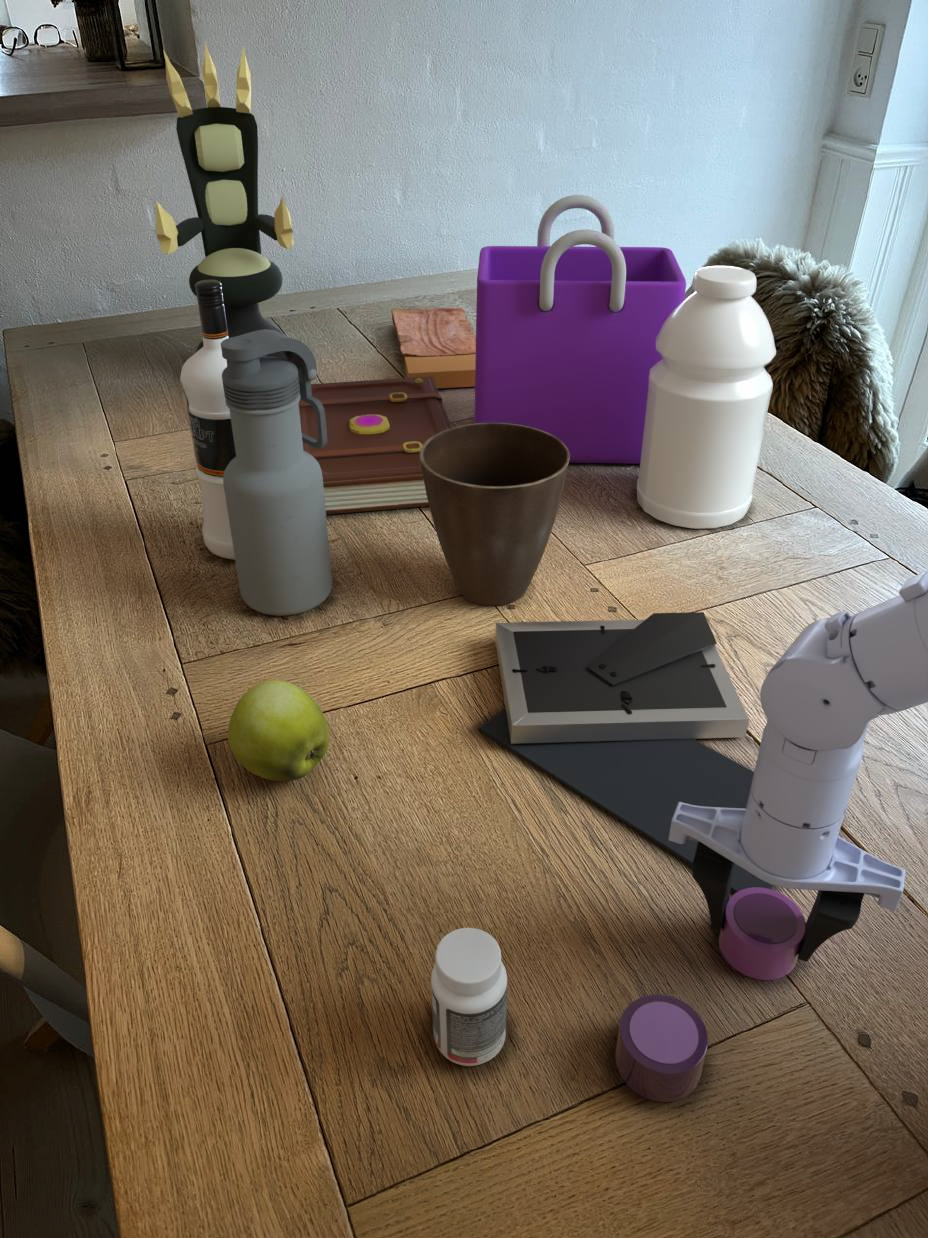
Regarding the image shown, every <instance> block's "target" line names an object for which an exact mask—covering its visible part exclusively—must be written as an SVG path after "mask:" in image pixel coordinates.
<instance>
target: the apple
mask: <svg viewBox="0 0 928 1238" xmlns="http://www.w3.org/2000/svg"><path fill="white" fill-rule="evenodd" d="M330 733H331V732H330V727H329V723H328V720H327V718H326V716H325V714H324V712H323V711H322V709H321V707H320V706H319V704H318V703H317V701H316V700H315V699H314V698H313V697H312V696H311V694H309V693H308V692H307V691H306V690H304V689H303V688H301V687H299V686H298V685H296V684H293V683H291V682H288V681H285V680H280V679H269V680H265V681H262V682H259V683H257V684H255V685H254V686H252V687H250V688H249V689H248V690H247V691H246V692H244V693H243V695H242V696H240V697H239V700H238V701H237V702H236V704H235V706H234V709H233V711H232V713H231V716H230V718H229V723H228V730H227V739H228V745H229V747H230V750H231V752H232V753H233V755H234V757H235V758H236V760H237V761H238V762H239V763H240V764H241V765H242V767H243V768H245V769H246V771H248V772H250V773H251V774H253V775H255V776H257V777H260V778H262V779H265V780H270V781H276V782H289V781H294V780H300V779H302V778H304V777H306V776H307V775H308V774H309V773H310V772H311V771H312V770H313V769H314V768H315V767H316V766H317V765H318V763H319V762H320V761H321V760H322V758H324V757H325V755H326V754H327V752H328V750H329V749H328V748H329V745H330V740H331V738H330V737H331V735H330Z"/></svg>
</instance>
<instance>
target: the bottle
mask: <svg viewBox="0 0 928 1238" xmlns="http://www.w3.org/2000/svg"><path fill="white" fill-rule="evenodd" d="M757 283H758V282H757V276H756V274H755V273H754V272H753V271H751V270H749V269H746V268H744V267H738V266H733V265H709V266H704V267H701V268H698V269H697V270H696V271H695V272H694V275H693V278H692V283H691V287H692V290H693V291H694V292H693V293H691V294H690V295H689V296H687V297H685V300H684V301H683V302H682V303H681V304H680V305H678V306H677V307H676V308H675V310H674V311H673V312H672V313H671V314H670V315H669V317H668V318H667V319H666V321H665V322H664V324H663V326H662V328H661V330H660V332H659V334H658V336H657V337H656V350H657V351H658V352H659V353H660V355H661V356H662V357H663V359H662V360H661V361H659V362H657V363H656V364H655V365H654V366H653V367H652V368H651V369H650V372H649V384H648V395H647V405H646V414H645V423H644V432H643V441H642V451H641V461H640V464H639V470H638V477H637V478H636V500H637V504H639V506H640V507H641V509H642V510H643V512H645V513H646V514H648V515H650V516H651V517H653V518H655V519H656V520H658V521H661V522H663V523H667V524H669V525H672V526H674V527H675V526H676V527H682V528H688V529H717V528H721V527H727V526H730V525H732V524H735V523H736V522H738V521H739V520H740V521H741V520H742V519H743V518H744V517H745V515H746V513H748V510H749V509H750V506H751V503H752V501H753V498H754V496H753V490H754V484H755V479H756V475H757V474H756V473H757V470H758V469H757V468H758V464H759V459H760V454H761V449H762V442H763V436H764V432H765V427H766V422H767V416H768V410H769V406H770V401H771V397H772V393H773V387H774V383H773V379H772V375H770V374H769V373H768V371H767V370H766V368H765V367H766V365H769V364H770V363H771V362H772V360H773V359H774V358H775V357H776V355H777V349H776V348H777V347H776V345H775V338H774V334H773V330H772V328H771V324H770V323H769V320H768V317H767V315H766V313H765V312H764V310H763V309H762V307H761V306H760V304H759V303H758V302H757V300H755V298H754V297H752V296H753V295H754V294H755V293H756V291H757Z"/></svg>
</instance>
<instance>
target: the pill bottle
mask: <svg viewBox="0 0 928 1238" xmlns="http://www.w3.org/2000/svg"><path fill="white" fill-rule="evenodd" d="M434 955H435V956H434V957H435V958H434V959H435V961H434V966H433V967H432V972H431V976H430V988H431V990H430V991H431V1005H432V1006H431V1008H432V1009H431V1010H432V1011H431V1012H432V1029H433V1030H432V1031H433V1039H434V1043H435V1046H436V1048H437V1049H438V1050H439V1052H440V1053H441V1054H442V1055H443V1057H445V1058H446V1059H447V1060H449V1061H450V1062H452V1063H454V1064H455V1065H460V1066H465V1067H473V1066H475V1067H476V1066H479V1065H482V1064H485V1063H487V1062H489V1061H490V1060H492V1059H493V1058H494V1057H496V1056H497V1055H498V1054H499V1053H500V1051H501V1050H502V1048H503V1046H504V1044H505V1041H506V1037H507V1011H508V1010H507V1008H508V1002H507V1001H508V974H507V971H506V966H505V965H504V962H503V961H502V952H501V947H500V945H499V943H498V942H497V940H496V938H494V937H493V936H492V935H491V934H490V933H488V932H487V931H485V930H482V929H479V928H476V927H462V928H461V927H460V928H458V929H454V930H452V931H450V932H448V933H447V934H445V936H443V937H442V938H441V939H440V941H439V943H438V944H437V947H436V950H435V954H434Z"/></svg>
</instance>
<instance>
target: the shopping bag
mask: <svg viewBox="0 0 928 1238" xmlns="http://www.w3.org/2000/svg"><path fill="white" fill-rule="evenodd" d="M572 209H573V210H574V209H582V210H585V211H589V212H590V213H592V214H593V215H594V216H595V217H596V218H597V220H598V221H599V225H600V229H601V230H600V231H599V230H595V229H589V228H588V229H577V230H572V231H570V232H567V233H565V234H564V235H562V236H560V237H559V238H557V239H556V240H555V241H554V242H553V243H552V245H550V244H551V231H552V227H553V224H554V222H555V220H556V219H557V218H558V217H559V216H560V215H561V214H563V213H564V212H566V211H568V210H572ZM614 237H615V226H614V221H613V218H612V215H611V214H610V212H609V210H608V209H607V207H606V206H604V204H603V203H602V202H600V201H599V200H598V199H596V198H594V197H591V196H588V195H584V194H572V195H567V196H564V197H561V198H559V199H558V200H556V201H555V202H553V203H552V204H551V205H549V206H548V207H547V209H546V210H545V212H544V213H543V215H542V216H541V219H540V221H539V225H538V229H537V241H536V243H537V245H488V246H487V245H485V246H483V247H481V248H480V251H479V257H478V268H477V276H476V310H475V311H476V313H475V317H476V318H475V335H476V362H475V386H474V411H473V412H474V413H473V414H474V417H473V419H474V420H473V422H474V423H473V424H475V423H510V424H518V425H524V426H529V427H532V428H536V429H539V430H542V431H545V432H547V433H549V434H551V435H553V436H555V437H557V438H558V439H559V440H561V441H562V442H563V443H564V444H565V446H566V447H567V448H568V450H569V454H570V459H569V463H573V464H575V463H581V464H583V463H585V464H636V465H637V464H639V465H640V461H641V451H642V441H643V432H644V423H645V414H646V405H647V395H648V384H649V372H650V369H651V368H652V367H653V366H654V365H655V364H656V363H657V362H659V361H661V360H662V359H663V357H662V356H661V355H660V353H659V352H658V351H657V350H656V337H657V336H658V334H659V332H660V330H661V328H662V326H663V324H664V322H665V321H666V319H667V318H668V317H669V315H670V314H671V313H672V312H673V311H674V310H675V308H676V307H677V306H678V305H680V304H681V303H682V302H683V301H684V300H685V299H686V290H687V289H686V288H687V280H686V278H685V275H684V273H683V271H682V269H681V267H680V264H679V263H678V261H677V259H676V256H675V254H674V251H673V250H672V249H670V248H667V247H660V246H619V244H618V243H617V242H616V241H615V240H614ZM581 245H589V246H581Z"/></svg>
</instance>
